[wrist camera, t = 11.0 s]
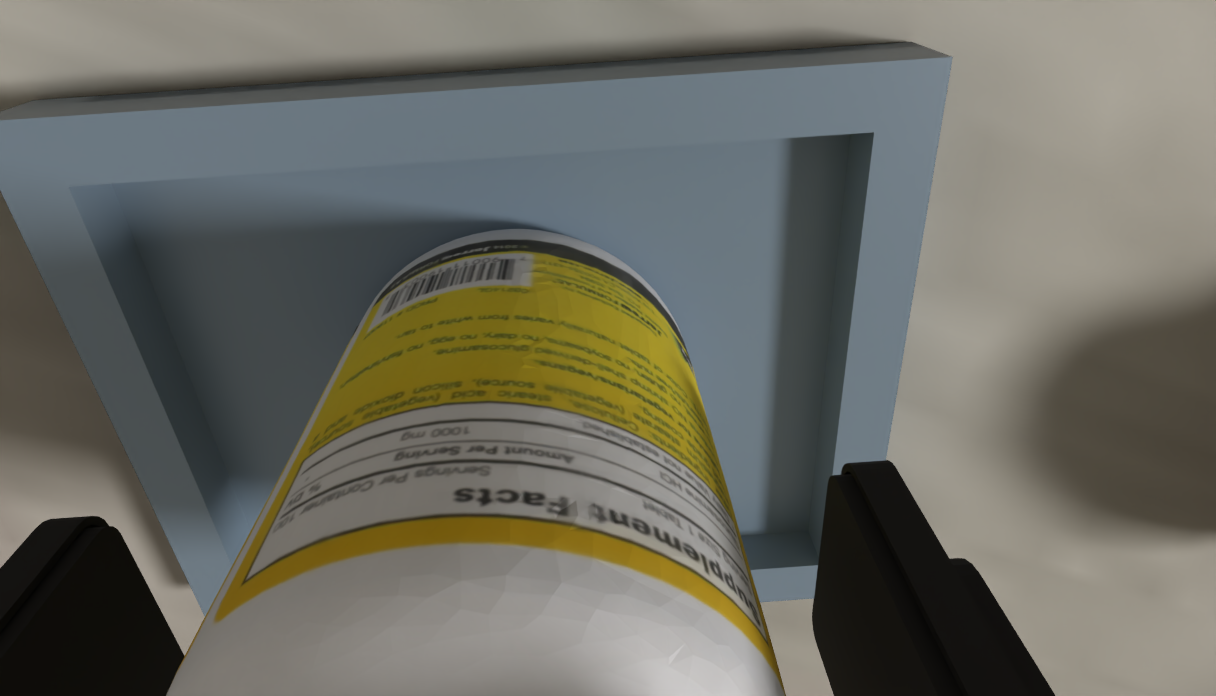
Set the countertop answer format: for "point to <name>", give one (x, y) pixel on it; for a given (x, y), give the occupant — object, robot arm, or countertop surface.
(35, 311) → the countertop surface
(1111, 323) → the countertop surface
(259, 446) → the tray
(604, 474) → the pill bottle
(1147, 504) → the countertop surface
